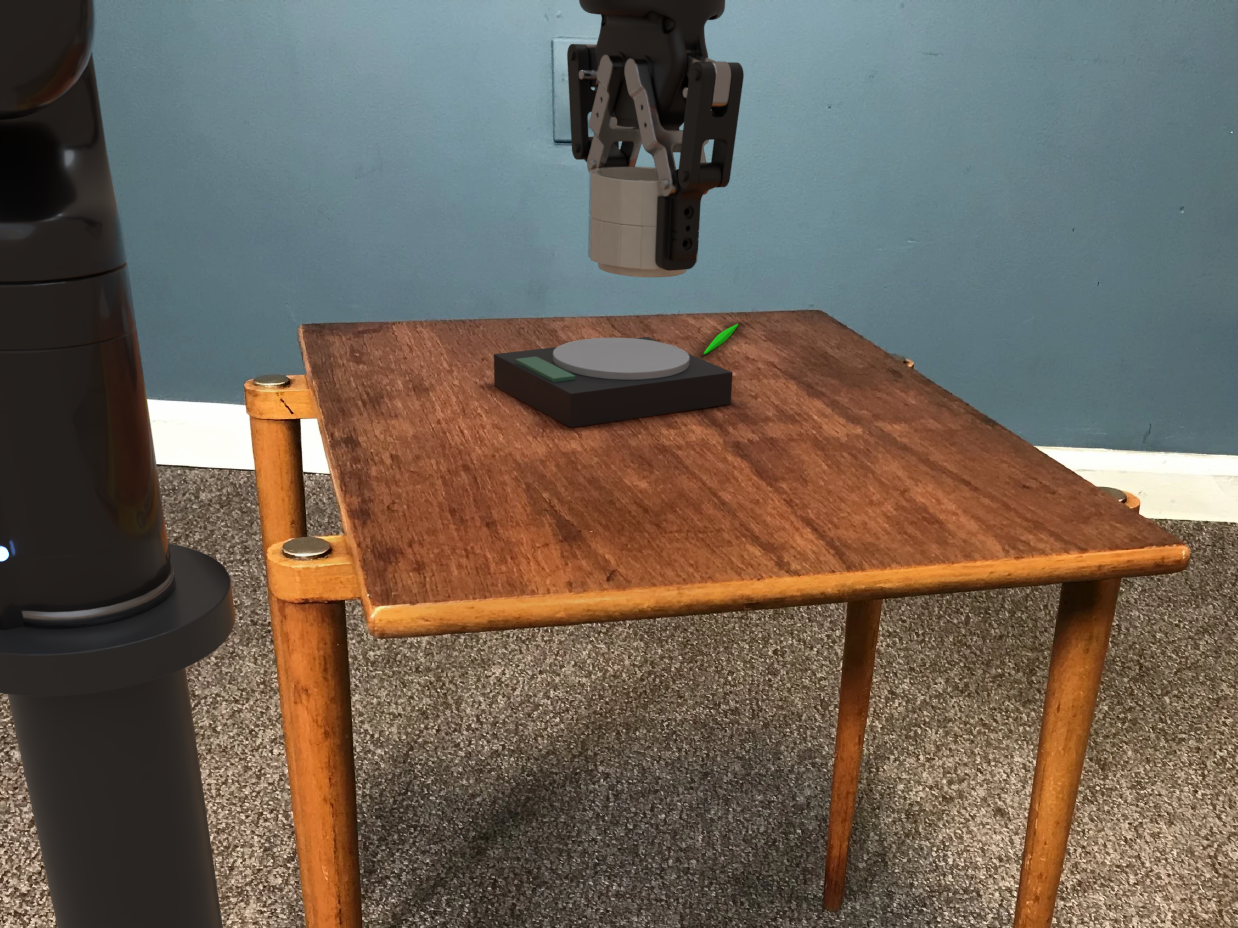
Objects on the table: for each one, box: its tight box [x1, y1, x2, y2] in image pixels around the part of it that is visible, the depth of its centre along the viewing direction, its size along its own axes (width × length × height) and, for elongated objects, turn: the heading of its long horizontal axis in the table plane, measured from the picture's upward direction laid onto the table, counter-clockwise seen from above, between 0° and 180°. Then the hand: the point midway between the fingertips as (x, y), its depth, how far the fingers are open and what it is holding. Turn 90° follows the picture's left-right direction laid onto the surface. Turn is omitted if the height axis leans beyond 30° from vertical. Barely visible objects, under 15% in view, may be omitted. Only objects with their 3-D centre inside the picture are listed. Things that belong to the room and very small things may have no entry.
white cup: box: [587, 166, 701, 278], centre depth 75 cm, size 6×6×5 cm
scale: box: [493, 336, 733, 429], centre depth 103 cm, size 14×12×3 cm
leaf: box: [701, 322, 740, 357], centre depth 121 cm, size 1×14×1 cm, turn 164°
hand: (643, 256), depth 76 cm, fingers closed on white cup, 6 cm apart
